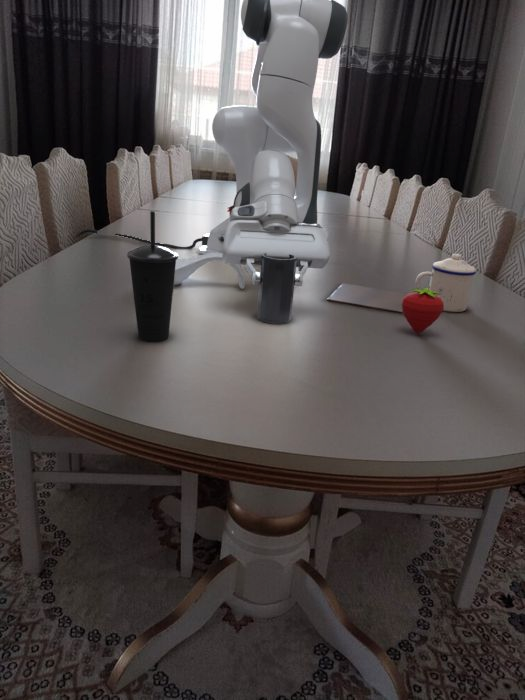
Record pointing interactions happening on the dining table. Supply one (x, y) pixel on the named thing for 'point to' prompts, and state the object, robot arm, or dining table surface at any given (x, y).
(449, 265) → the teacup with lid
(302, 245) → the robot arm
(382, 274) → the dining table surface
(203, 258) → the white arch
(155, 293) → the drinking cup
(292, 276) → the waste bin
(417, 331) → the strawberry
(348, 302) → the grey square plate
